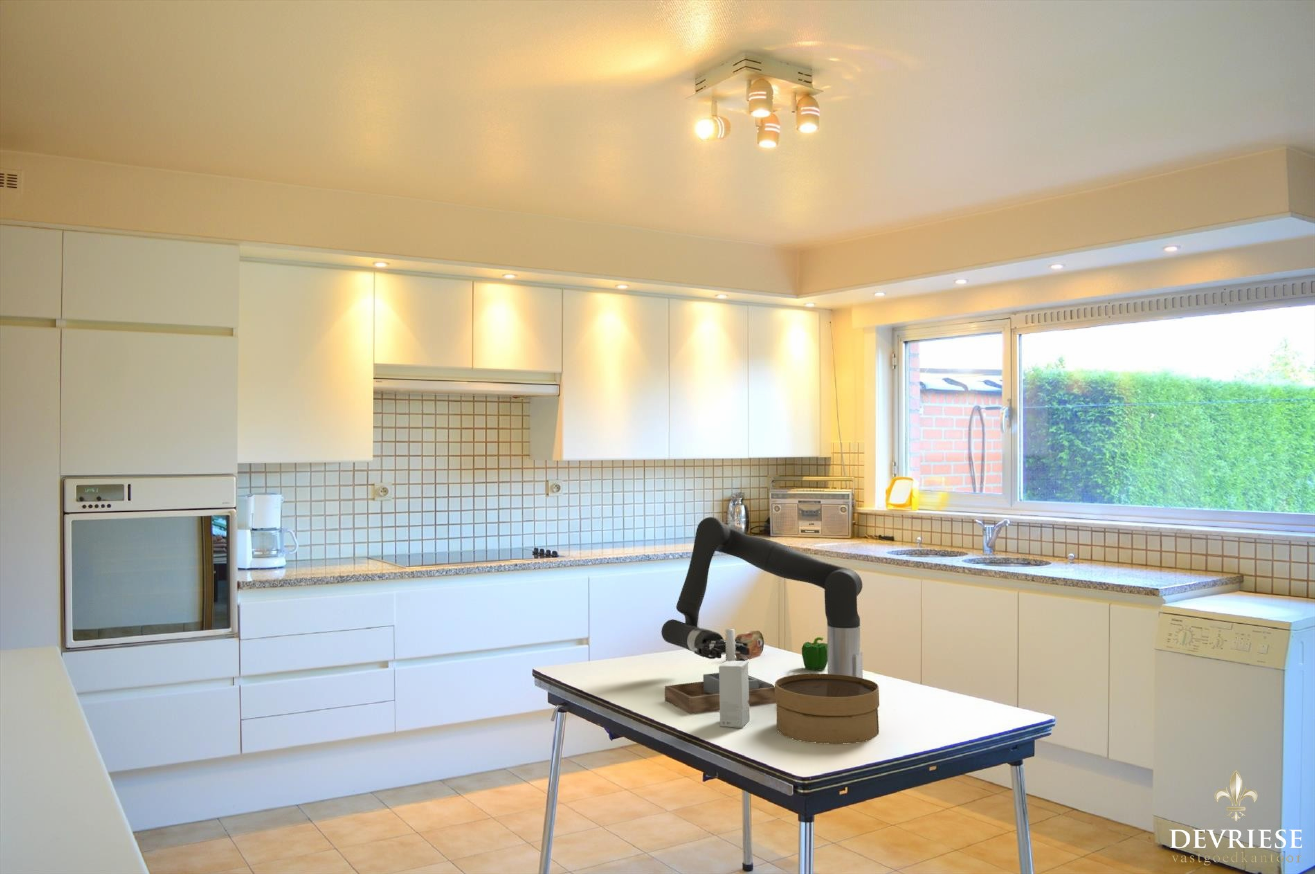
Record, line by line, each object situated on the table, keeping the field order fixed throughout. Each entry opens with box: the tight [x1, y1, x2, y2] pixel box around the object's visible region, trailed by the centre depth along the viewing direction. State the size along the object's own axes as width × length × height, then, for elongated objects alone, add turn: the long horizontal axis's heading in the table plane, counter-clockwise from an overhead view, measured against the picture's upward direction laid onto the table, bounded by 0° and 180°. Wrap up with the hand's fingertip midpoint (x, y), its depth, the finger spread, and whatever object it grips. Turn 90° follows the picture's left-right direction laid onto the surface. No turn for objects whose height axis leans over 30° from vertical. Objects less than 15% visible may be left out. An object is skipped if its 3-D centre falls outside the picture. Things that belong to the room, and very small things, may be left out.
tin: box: [735, 630, 765, 661], centre depth 321 cm, size 15×3×8 cm, turn 143°
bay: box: [664, 674, 776, 715], centre depth 263 cm, size 26×15×5 cm, turn 116°
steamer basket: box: [774, 673, 880, 745], centre depth 236 cm, size 25×25×11 cm
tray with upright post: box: [702, 628, 760, 695], centre depth 265 cm, size 10×12×18 cm
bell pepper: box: [801, 636, 828, 671], centre depth 303 cm, size 8×8×10 cm
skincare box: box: [718, 660, 750, 729], centre depth 242 cm, size 8×6×15 cm
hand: (734, 653), depth 263 cm, fingers open, 8 cm apart
